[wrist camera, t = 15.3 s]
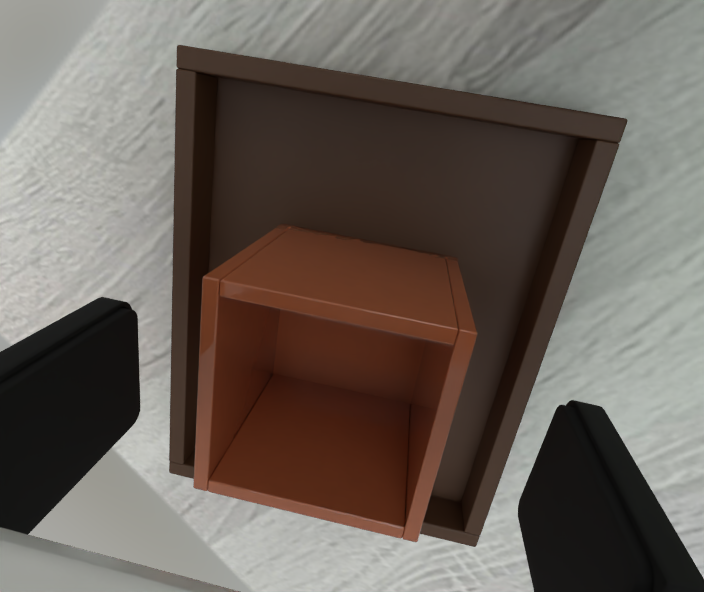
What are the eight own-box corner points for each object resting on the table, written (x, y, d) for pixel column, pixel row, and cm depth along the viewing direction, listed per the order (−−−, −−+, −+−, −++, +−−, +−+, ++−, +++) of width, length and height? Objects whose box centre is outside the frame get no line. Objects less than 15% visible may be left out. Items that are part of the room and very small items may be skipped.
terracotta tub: (281, 223, 15) (201, 276, 10) (457, 257, 15) (478, 333, 9) (265, 374, 18) (192, 488, 12) (419, 408, 17) (417, 543, 12)
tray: (209, 55, 15) (176, 44, 13) (599, 120, 14) (629, 119, 12) (193, 439, 20) (168, 473, 18) (470, 505, 19) (476, 548, 17)
